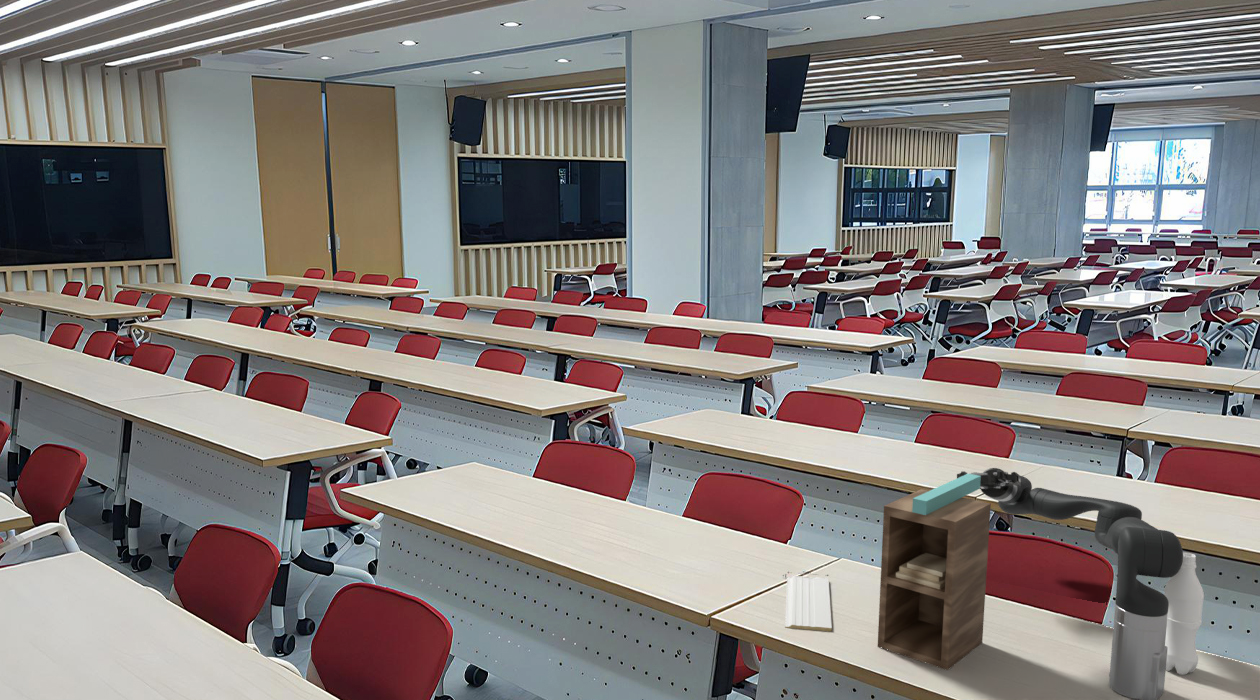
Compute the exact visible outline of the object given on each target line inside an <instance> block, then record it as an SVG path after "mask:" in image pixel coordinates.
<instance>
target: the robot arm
mask: <svg viewBox="0 0 1260 700" xmlns="http://www.w3.org/2000/svg"><path fill="white" fill-rule="evenodd" d="M966 474H973V475H978V476H981V481H980V489H979V490H980V491H981V492H982V493H983V495H985V496H987V497H989V498H991V499H993V500H994V501H997V502H998V506H999V508H1000V509H1001V511H1003V512H1004V513H1007V514H1009V515H1010V514H1011V515H1036V516H1041V517H1044V518H1046V519H1047V518H1048V519H1051V520H1056V521H1062V520H1067V519H1072V518H1074V517H1077V516H1079V515H1081V514H1084V513H1087V512H1093V511H1094V512H1098V513H1097V515H1096V516H1097V517H1096V523H1095V528H1094V538H1095V540H1096V541H1097V543H1099V544H1101V546H1102V545H1103V546H1104V547H1106V548H1109V549H1110V550H1113V551H1114V553H1115V554H1117V577H1116V588H1115V601H1114V602H1115V604H1114V615H1113V627H1112V638H1111V639H1112V642H1111V653H1110V663H1109V664H1110V665H1109V667H1110V668H1109V674H1108V675H1109V676H1108V677H1109V678H1108V679H1109V680H1108V685H1109V687H1110V688H1111V689H1112V690H1113V691H1114V692H1115V693H1118V694H1120V695H1122V696H1124V697H1127V698H1131V699H1134V700H1158V699H1160V698H1161V695H1162V694H1163V693H1164V691H1165V683H1166V682H1165V681H1166V671H1167V670H1166V661H1167V649H1168V648H1167V646H1165V639H1166V627H1167V616H1168V606H1169V602H1168V599H1167V597H1166V596H1165V593H1163V592H1160V591H1159V590H1158V589H1155V588H1153V587H1150V586H1148V585H1146V584H1144V583H1143V582H1141V581H1140V580H1138V579H1137V576H1141V577H1142V576H1143V577H1153V578H1159V579H1164V578H1165V579H1168V578H1169V579H1170V578H1171V577H1173V576H1175V575H1176V574H1177V573H1178V572H1179V570H1180V569H1181V566H1182V563H1183V552H1184V550H1183V546H1182V544H1181V541H1180V539H1179V538H1178V537H1177V535H1176V534H1175V533H1173V532H1172V531H1169V530H1164V529H1163V530H1162V529H1158V528H1157V527H1155V526H1153V525H1151V524H1150V523H1148V522H1146V521H1145V520H1143V519H1142V518H1143V517H1142V516H1143V512H1142V511H1141V509H1140V508H1138V507H1137V506H1134V505H1132V504H1128V503H1126V502H1119V501H1116V500H1110V499H1103V498H1099V497H1098V498H1097V497H1093V496H1092V497H1091V496H1082V495H1074V494H1068V493H1062V492H1058V491H1055V490H1050V489H1046V488H1042V487H1035V488H1033V483H1032V482H1031V480H1030V479H1029V478H1027V477H1025V476H1024V475H1020V474H1018V473H1017V472H1015V471H1012V472H1010V474H1009V472H1008V471H1005V470H1003V469H1000V468H999V467H998V468H997V467H991V468H990V467H989V468H987V469H985V470H984V471H983V472H971V473H968V472H966V471H963V470H962V471H961V472H960V473H956V479H957V478H959V477H962V476H964V475H966ZM1032 488H1033V489H1032Z"/></svg>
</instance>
